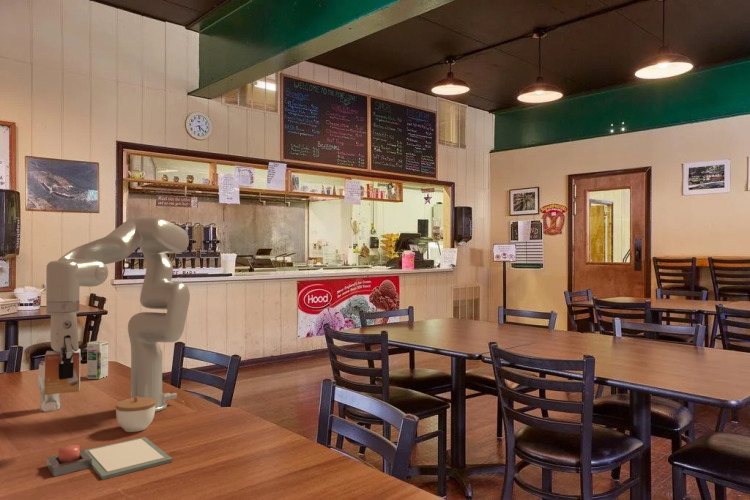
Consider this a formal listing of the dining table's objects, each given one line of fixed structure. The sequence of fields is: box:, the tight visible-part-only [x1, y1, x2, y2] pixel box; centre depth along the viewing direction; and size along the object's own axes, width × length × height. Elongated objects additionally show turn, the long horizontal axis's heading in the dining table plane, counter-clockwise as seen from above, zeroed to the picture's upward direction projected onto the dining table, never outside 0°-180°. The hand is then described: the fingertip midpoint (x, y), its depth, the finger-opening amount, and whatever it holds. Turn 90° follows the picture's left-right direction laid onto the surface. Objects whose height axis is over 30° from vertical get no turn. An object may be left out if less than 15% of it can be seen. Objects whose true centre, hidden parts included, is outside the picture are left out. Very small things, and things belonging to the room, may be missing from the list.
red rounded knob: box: [58, 444, 81, 463], centre depth 129 cm, size 4×4×3 cm
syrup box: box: [86, 340, 109, 380], centre depth 216 cm, size 6×6×14 cm
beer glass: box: [37, 361, 62, 413], centre depth 174 cm, size 7×7×15 cm
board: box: [83, 436, 173, 481], centre depth 135 cm, size 16×20×1 cm
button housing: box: [46, 449, 93, 477], centre depth 129 cm, size 8×8×2 cm
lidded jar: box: [115, 396, 156, 433], centre depth 157 cm, size 11×11×9 cm
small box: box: [44, 348, 81, 395], centre depth 140 cm, size 8×6×10 cm
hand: (62, 375), depth 140 cm, fingers closed on small box, 6 cm apart
